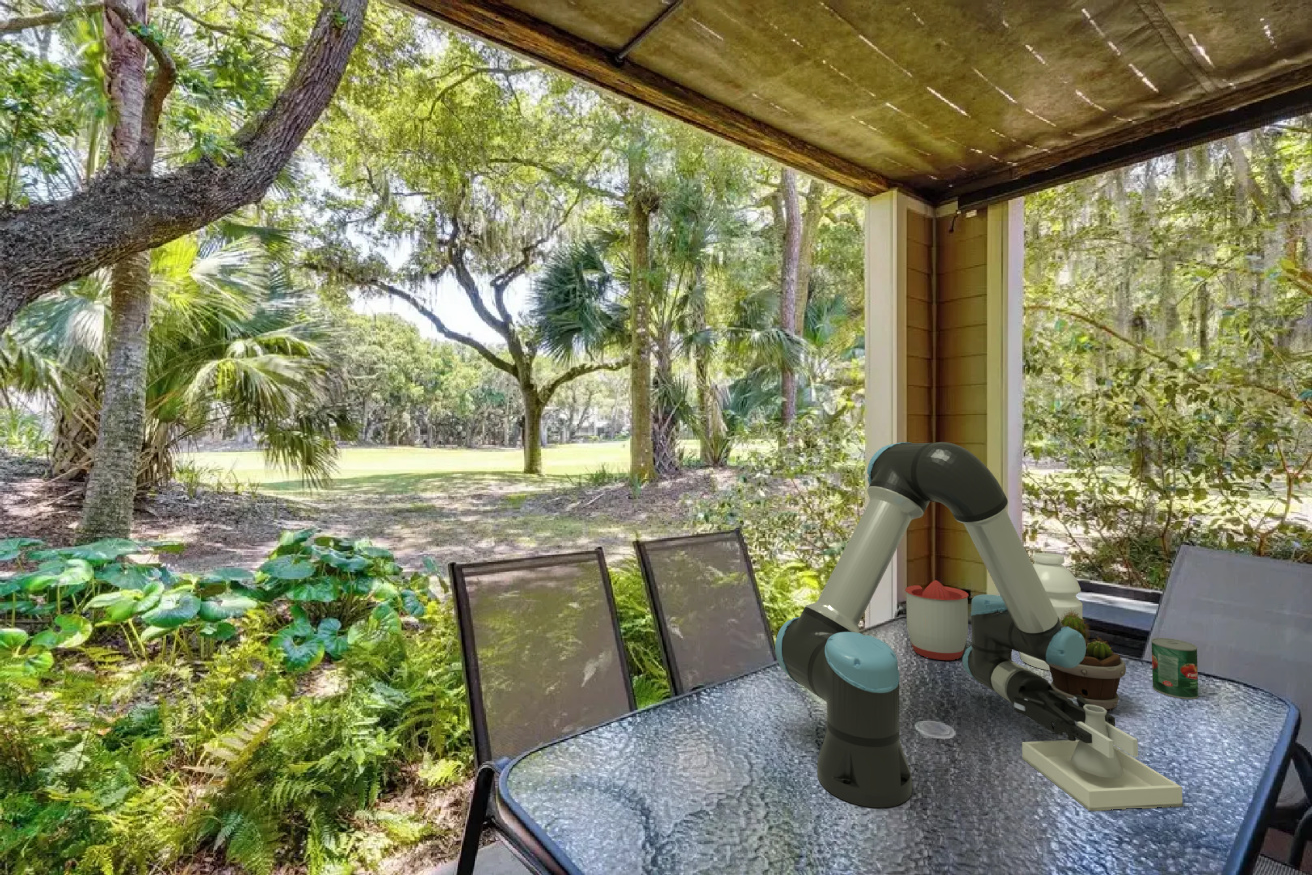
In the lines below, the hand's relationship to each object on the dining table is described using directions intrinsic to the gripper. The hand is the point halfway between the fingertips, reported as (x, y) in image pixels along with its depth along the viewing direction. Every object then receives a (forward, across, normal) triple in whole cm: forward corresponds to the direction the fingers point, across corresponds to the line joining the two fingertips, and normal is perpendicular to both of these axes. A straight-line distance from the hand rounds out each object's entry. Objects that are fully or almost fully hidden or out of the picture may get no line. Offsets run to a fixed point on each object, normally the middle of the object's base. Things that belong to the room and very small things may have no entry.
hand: (1123, 748), depth 93 cm
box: (-5, 0, -8) cm, 10 cm away
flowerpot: (-33, -21, -8) cm, 40 cm away
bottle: (-56, -31, -9) cm, 65 cm away
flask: (-5, 0, -6) cm, 8 cm away
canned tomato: (-37, -46, -9) cm, 60 cm away
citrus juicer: (-66, -6, -8) cm, 67 cm away
